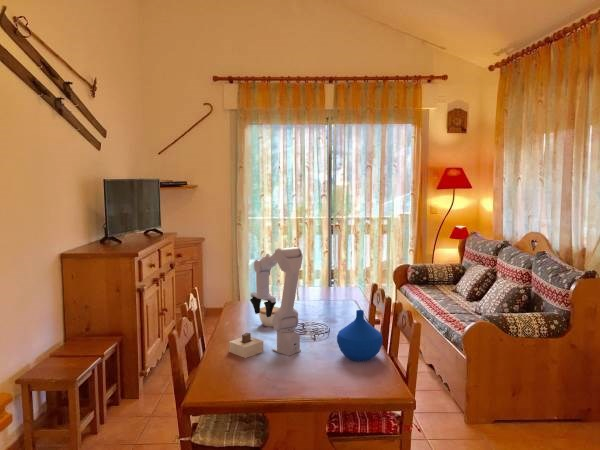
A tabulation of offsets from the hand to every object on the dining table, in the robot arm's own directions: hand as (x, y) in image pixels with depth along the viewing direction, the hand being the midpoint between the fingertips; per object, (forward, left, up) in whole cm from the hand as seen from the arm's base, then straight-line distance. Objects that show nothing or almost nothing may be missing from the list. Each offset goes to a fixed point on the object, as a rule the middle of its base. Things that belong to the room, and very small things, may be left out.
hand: (263, 315), depth 216 cm
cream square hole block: (-9, +18, -10) cm, 22 cm away
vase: (-47, -9, -10) cm, 49 cm away
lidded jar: (+10, -14, -10) cm, 20 cm away
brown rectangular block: (-9, +18, -9) cm, 22 cm away
